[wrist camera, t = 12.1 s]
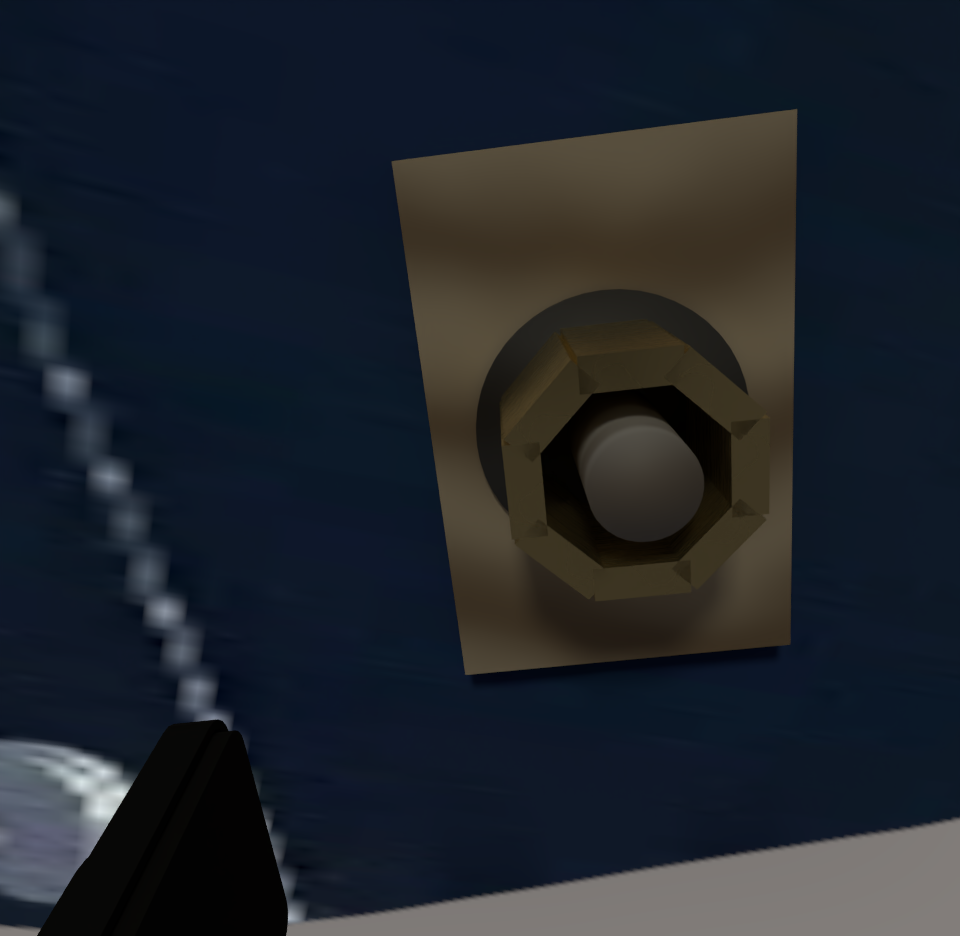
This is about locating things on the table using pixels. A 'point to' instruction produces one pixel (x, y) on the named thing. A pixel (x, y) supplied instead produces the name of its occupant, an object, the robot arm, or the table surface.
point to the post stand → (617, 414)
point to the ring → (709, 434)
